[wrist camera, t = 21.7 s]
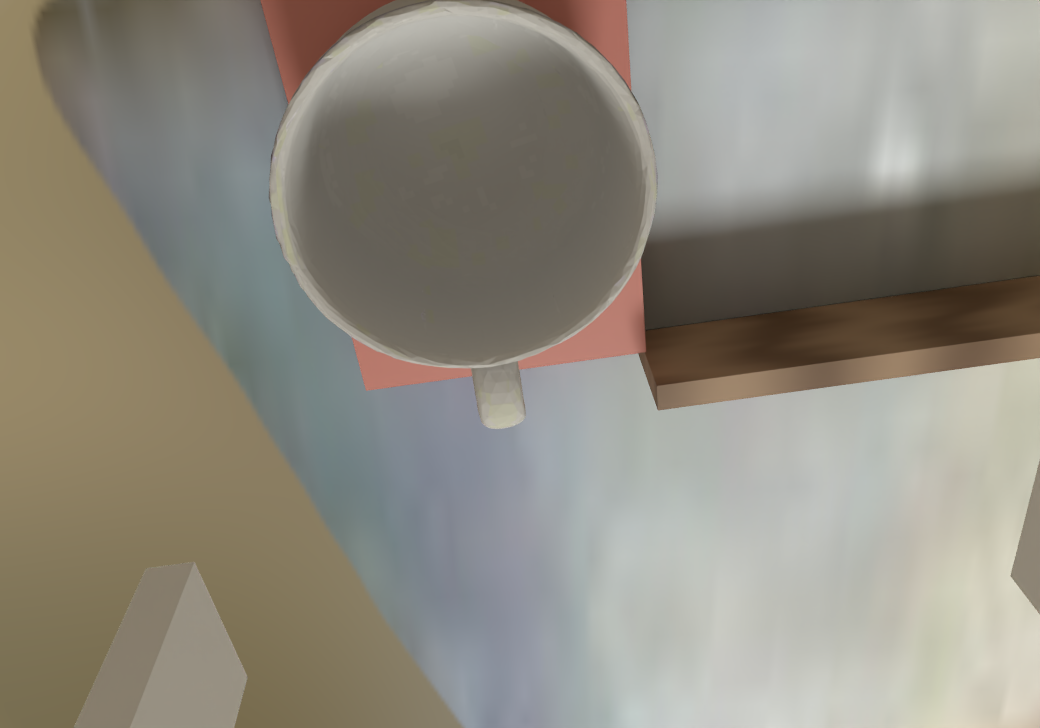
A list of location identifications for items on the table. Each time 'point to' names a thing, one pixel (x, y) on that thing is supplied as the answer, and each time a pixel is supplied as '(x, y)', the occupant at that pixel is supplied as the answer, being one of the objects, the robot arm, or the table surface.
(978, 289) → the crate
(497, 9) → the teacup
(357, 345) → the pink flat slab
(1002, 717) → the table surface
